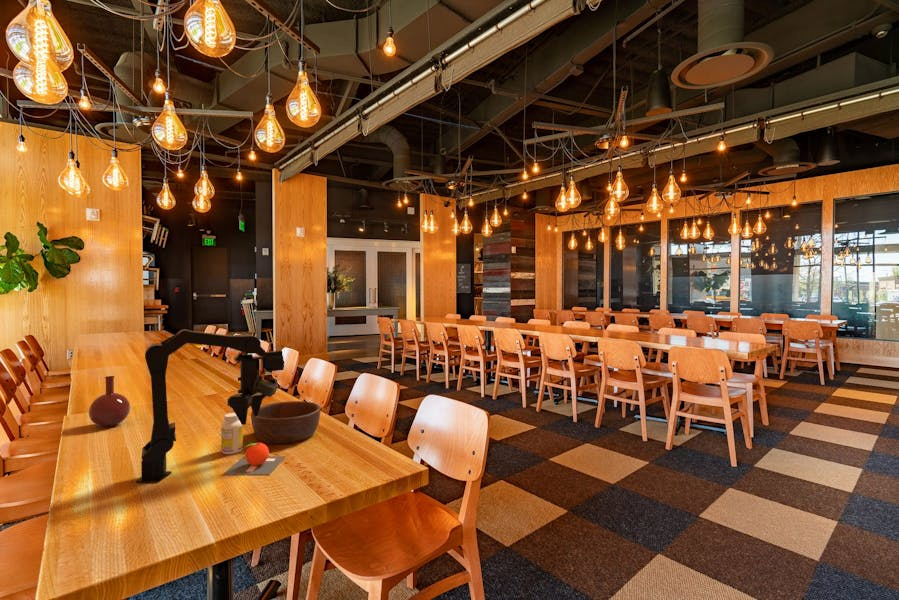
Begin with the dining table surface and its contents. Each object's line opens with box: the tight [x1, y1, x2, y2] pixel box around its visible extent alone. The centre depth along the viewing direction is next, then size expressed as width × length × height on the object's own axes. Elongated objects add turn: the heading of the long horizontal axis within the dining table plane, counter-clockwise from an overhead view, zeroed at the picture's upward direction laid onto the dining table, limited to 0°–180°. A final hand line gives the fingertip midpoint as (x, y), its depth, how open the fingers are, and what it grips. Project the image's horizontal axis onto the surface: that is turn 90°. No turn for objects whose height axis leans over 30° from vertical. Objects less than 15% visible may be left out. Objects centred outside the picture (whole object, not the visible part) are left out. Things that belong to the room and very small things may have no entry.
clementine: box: [244, 442, 270, 466], centre depth 136 cm, size 8×7×7 cm
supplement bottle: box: [220, 412, 244, 455], centre depth 148 cm, size 7×7×13 cm
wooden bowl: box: [250, 400, 322, 445], centre depth 164 cm, size 25×25×10 cm
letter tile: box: [222, 455, 287, 476], centre depth 137 cm, size 14×14×1 cm
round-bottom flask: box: [88, 375, 131, 428], centre depth 173 cm, size 13×13×20 cm
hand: (250, 420), depth 141 cm, fingers open, 9 cm apart
